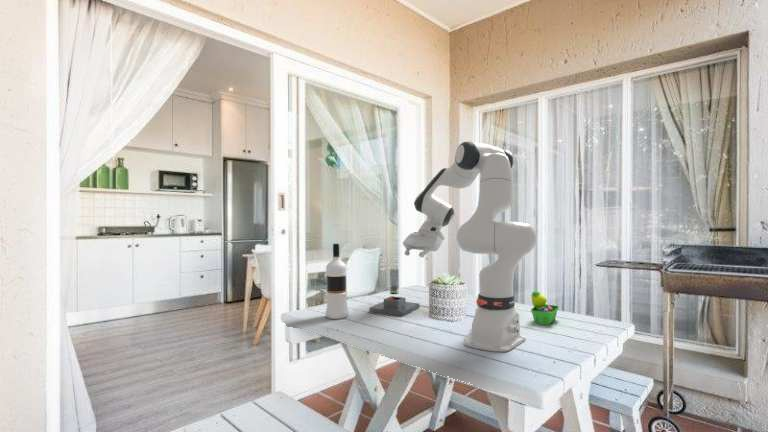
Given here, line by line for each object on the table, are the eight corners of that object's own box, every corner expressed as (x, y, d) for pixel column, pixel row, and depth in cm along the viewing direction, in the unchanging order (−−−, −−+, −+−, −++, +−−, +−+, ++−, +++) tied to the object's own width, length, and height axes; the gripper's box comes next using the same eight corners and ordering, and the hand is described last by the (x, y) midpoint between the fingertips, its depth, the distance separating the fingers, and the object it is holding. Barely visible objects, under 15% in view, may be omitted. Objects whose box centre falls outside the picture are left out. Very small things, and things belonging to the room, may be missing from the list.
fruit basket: (551, 326, 149) (551, 295, 149) (527, 322, 154) (526, 292, 154) (559, 319, 158) (559, 290, 158) (536, 315, 163) (535, 287, 163)
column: (396, 294, 173) (396, 270, 173) (388, 294, 175) (388, 269, 175) (400, 293, 177) (400, 269, 176) (392, 292, 179) (392, 268, 178)
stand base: (402, 316, 165) (402, 302, 165) (369, 312, 173) (369, 298, 173) (419, 307, 179) (419, 294, 179) (387, 304, 187) (387, 291, 187)
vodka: (336, 321, 160) (334, 245, 160) (321, 317, 166) (319, 243, 166) (353, 316, 167) (352, 243, 166) (338, 312, 173) (337, 242, 173)
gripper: (409, 227, 196) (394, 249, 190) (441, 228, 180) (425, 252, 174) (415, 236, 199) (401, 258, 193) (447, 238, 183) (433, 262, 177)
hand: (413, 255), depth 183 cm, fingers open, 8 cm apart
